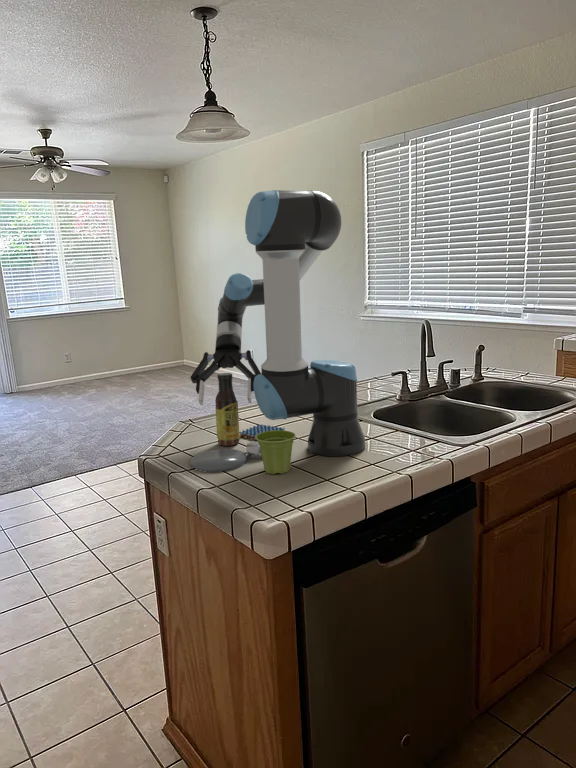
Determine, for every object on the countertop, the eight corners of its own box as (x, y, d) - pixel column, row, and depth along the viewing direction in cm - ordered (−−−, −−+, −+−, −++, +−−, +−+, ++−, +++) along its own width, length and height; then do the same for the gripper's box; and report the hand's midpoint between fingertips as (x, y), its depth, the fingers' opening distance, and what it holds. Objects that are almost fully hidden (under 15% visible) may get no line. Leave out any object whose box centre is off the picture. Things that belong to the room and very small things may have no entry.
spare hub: (274, 453, 148) (273, 442, 148) (262, 460, 143) (262, 449, 142) (254, 451, 151) (253, 440, 150) (242, 458, 146) (241, 447, 145)
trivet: (256, 456, 146) (256, 451, 146) (226, 475, 134) (226, 470, 134) (212, 450, 153) (211, 446, 152) (179, 468, 140) (179, 463, 140)
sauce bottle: (229, 448, 154) (223, 377, 150) (213, 445, 158) (207, 375, 153) (245, 441, 159) (240, 372, 155) (229, 438, 163) (223, 371, 158)
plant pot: (275, 460, 142) (273, 427, 140) (304, 467, 136) (303, 433, 134) (249, 472, 135) (247, 437, 133) (280, 480, 129) (277, 444, 127)
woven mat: (264, 444, 157) (264, 437, 157) (237, 438, 164) (236, 432, 163) (287, 434, 165) (287, 427, 165) (260, 429, 172) (260, 423, 171)
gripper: (271, 345, 170) (271, 406, 159) (190, 350, 172) (183, 410, 160) (269, 330, 164) (268, 392, 152) (184, 334, 165) (177, 396, 154)
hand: (224, 401), depth 156 cm, fingers open, 13 cm apart
